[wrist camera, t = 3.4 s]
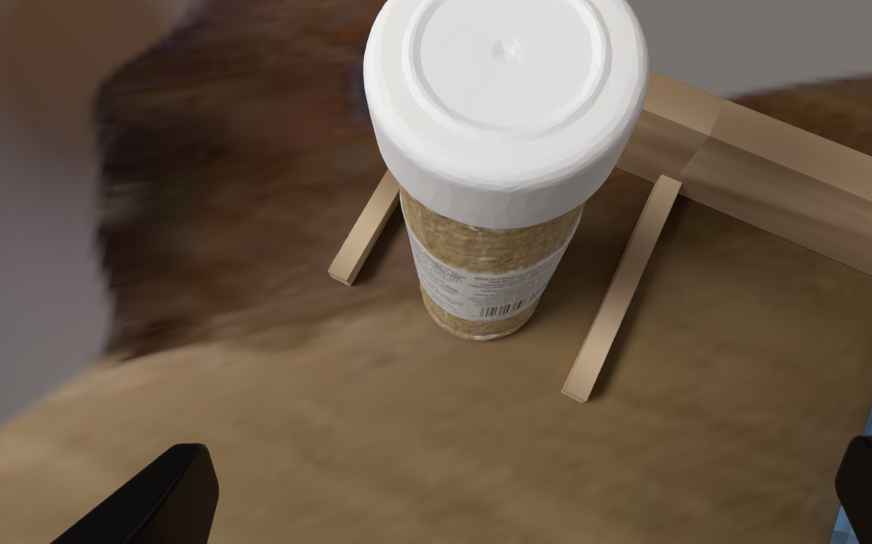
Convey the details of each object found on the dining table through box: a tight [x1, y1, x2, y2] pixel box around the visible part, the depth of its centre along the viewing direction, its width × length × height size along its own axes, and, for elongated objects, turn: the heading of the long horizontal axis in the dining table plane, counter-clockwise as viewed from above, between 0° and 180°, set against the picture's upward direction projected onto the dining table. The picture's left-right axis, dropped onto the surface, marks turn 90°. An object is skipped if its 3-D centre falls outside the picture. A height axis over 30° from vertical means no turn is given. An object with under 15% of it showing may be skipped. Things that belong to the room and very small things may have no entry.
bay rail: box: [328, 70, 872, 544], centre depth 19 cm, size 11×29×4 cm, turn 63°
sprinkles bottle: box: [364, 0, 650, 341], centre depth 15 cm, size 5×5×13 cm
